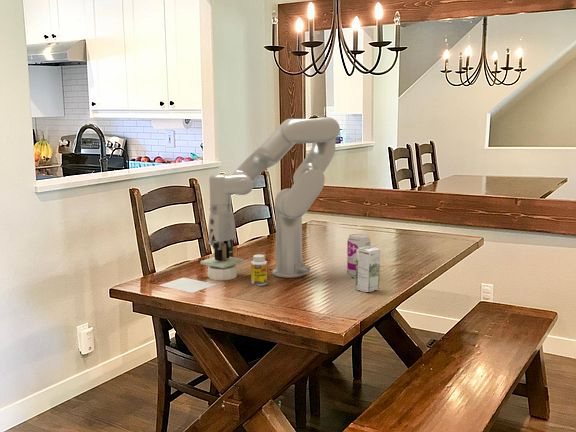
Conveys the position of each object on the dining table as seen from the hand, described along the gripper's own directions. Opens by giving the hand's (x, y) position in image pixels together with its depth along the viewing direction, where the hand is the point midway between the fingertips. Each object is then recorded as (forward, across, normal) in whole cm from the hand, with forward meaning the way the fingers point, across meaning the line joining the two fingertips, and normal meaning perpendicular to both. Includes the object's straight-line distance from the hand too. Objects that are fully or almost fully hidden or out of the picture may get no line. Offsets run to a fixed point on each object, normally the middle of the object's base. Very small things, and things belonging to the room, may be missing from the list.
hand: (222, 258), depth 222 cm
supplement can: (+7, +29, -40) cm, 50 cm away
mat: (+7, -15, +3) cm, 17 cm away
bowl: (+7, 0, 0) cm, 7 cm away
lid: (+2, 0, 0) cm, 2 cm away
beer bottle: (+7, +18, +15) cm, 25 cm away
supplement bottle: (+7, +1, -16) cm, 18 cm away
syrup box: (+7, +15, -51) cm, 54 cm away
